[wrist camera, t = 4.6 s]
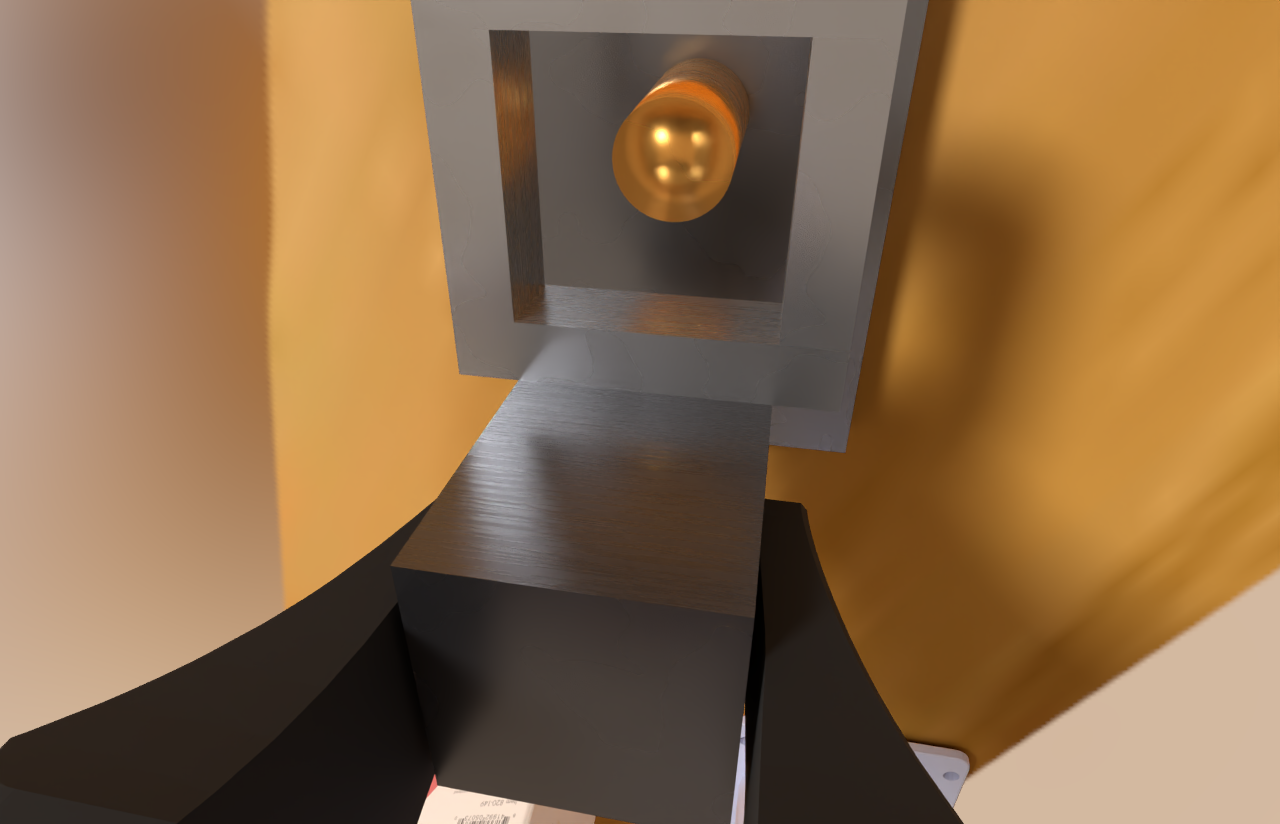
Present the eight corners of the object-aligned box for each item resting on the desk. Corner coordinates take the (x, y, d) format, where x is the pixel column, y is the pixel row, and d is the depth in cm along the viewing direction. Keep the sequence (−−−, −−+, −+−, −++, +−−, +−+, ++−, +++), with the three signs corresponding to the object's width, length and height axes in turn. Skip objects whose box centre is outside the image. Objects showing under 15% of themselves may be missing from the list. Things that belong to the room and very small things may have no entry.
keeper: (844, 429, 20) (850, 551, 16) (549, 399, 21) (493, 505, 17) (933, -67, 14) (975, -52, 10) (508, -68, 15) (410, -56, 11)
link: (808, 547, 15) (806, 856, 10) (512, 509, 16) (369, 773, 11) (902, -60, 10) (1007, -84, 5) (454, -62, 11) (126, -83, 5)
